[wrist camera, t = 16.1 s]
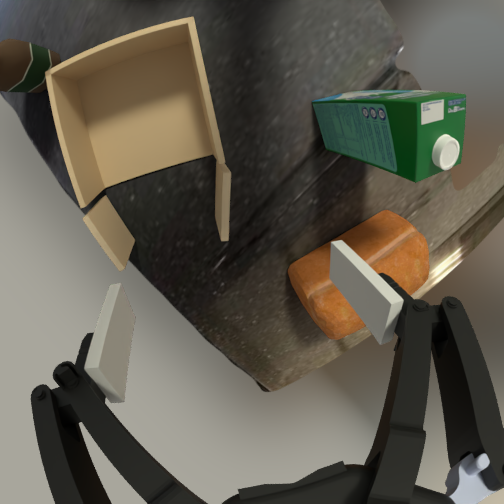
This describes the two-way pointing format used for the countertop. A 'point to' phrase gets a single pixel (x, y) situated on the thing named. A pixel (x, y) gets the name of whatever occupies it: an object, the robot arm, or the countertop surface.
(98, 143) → the carton
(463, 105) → the milk carton
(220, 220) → the flap
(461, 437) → the robot arm
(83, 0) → the countertop surface
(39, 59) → the beer bottle
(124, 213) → the countertop surface
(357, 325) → the bread
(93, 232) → the flap
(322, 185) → the countertop surface
